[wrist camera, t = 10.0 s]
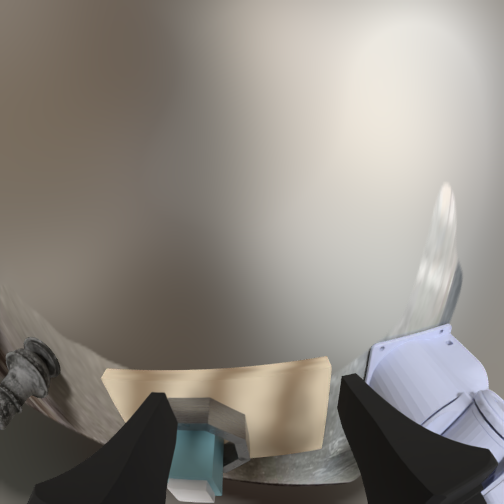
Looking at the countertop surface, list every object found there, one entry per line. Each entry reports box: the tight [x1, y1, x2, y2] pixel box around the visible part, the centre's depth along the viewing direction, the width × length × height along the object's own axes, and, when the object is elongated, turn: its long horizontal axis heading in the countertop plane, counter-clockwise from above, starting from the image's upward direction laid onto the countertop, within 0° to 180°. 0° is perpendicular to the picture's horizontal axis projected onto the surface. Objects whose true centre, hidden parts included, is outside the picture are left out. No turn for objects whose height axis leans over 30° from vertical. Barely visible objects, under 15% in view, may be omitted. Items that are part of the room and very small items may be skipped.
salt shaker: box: [0, 337, 60, 430], centre depth 16 cm, size 6×6×12 cm
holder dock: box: [101, 356, 331, 473], centre depth 21 cm, size 20×13×4 cm, turn 96°
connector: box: [167, 430, 224, 503], centre depth 18 cm, size 4×4×8 cm
